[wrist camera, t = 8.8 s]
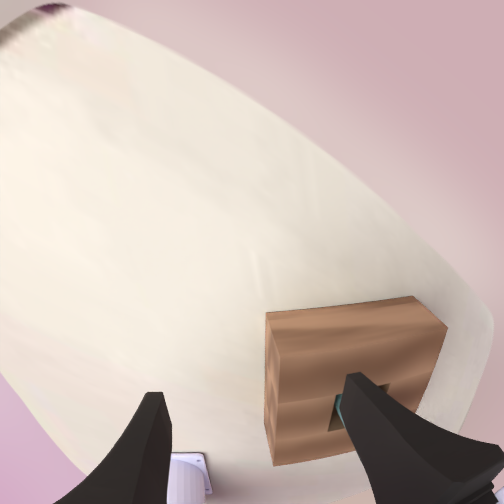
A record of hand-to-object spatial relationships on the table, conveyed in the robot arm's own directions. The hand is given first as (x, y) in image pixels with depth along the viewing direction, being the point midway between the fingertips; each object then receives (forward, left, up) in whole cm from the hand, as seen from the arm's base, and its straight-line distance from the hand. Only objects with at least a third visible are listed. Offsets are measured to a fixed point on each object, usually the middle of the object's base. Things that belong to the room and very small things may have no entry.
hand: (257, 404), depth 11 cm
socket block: (-8, -8, -10) cm, 15 cm away
